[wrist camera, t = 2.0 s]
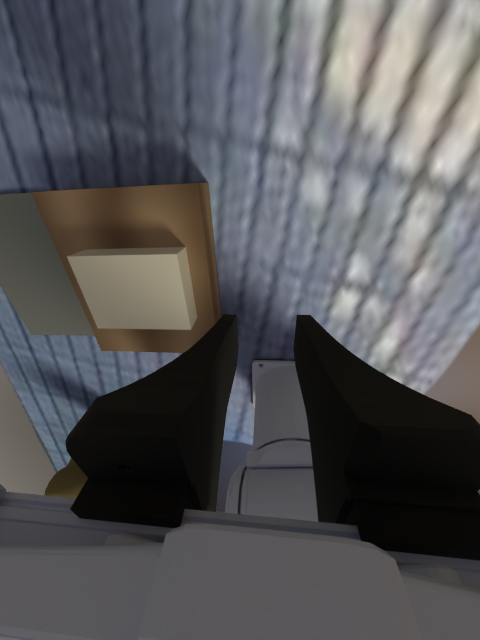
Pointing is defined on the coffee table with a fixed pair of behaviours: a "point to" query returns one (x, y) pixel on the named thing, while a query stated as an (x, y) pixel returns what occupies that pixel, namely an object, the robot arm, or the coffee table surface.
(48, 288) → the mat
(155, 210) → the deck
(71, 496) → the cork
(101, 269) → the tile
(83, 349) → the coffee table surface
